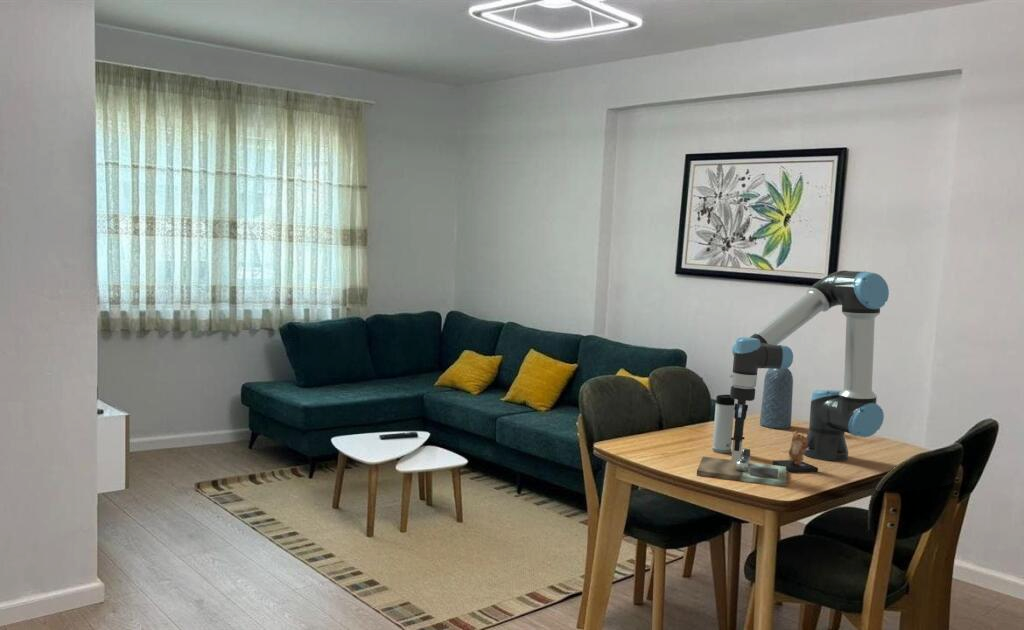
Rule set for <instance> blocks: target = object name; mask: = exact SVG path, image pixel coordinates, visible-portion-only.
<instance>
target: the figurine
mask: <svg viewBox="0 0 1024 630" xmlns="http://www.w3.org/2000/svg"><path fill="white" fill-rule="evenodd" d="M806 437H807V436H804V433H798V431H797V430H795V431H794V432H792V437H791V443H790V448H789V450H788V456H789V457H788V459H782V460H781V459H778V460H773V459H772V462H771V465H776V466H785V467H786V473H787V472H788V473H790V474H798V473H799V474H800V473H801V474H803V473H807V474H808V473H818V471H819V468H818V467H817V466H815V465H812V464H809V463H807V462H805V461H804V454H803V453H804V452H806V450H809V449H808V448H809V447H808V448H806V449H805V447H807V445H808V443H807V442H808V441H807V439H806ZM804 449H805V450H804Z"/></svg>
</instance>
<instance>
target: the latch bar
mask: <svg viewBox="0 0 1024 630" xmlns="http://www.w3.org/2000/svg"><path fill="white" fill-rule="evenodd" d="M750 460H751V449H750V448H742V449H741V458H740V460H739V461H737V463H736V470H739V471H748V466H749V463H750V462H751V461H750Z"/></svg>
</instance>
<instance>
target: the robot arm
mask: <svg viewBox="0 0 1024 630" xmlns="http://www.w3.org/2000/svg"><path fill="white" fill-rule="evenodd" d="M889 295H890V289H889V286H888V283H887V281H886V280H885V278H883V276H881V274H879V273H876V272H871V271H866V270H865V271H857V270H856V271H854V270H838V271H835V272H832V273H830V274H828V275H826V276H824V277H823V278H822V279H820V280H818V281H817V282H815V283H813V284H812V285H811V286H810V287H809V288H807V290H806V293H805V295H804V296H802V297H800V298H799V299H797V300H796V301H795V302H794V303H793V304H791V305H790V306H789V307H788V308H786V309H785V310H783V311H782V312H781V313H779V315H777V316H776V317H775V318H773V319H772V320H771V321H769V322H767V324H765V325H764V326H763V327H761V328H760V329H759V330H758V331H756V332H754V333H753V335H751V336H750V337H747V336H746V337H745V336H741V337H737V338H736V340H735V342H734V343H733V345H732V348H731V350H732V356H733V363H732V374H730V375H729V377H730V378H731V386H730V392H729V395H730V397H731V398H733V399H734V400H737V403H735V402H734V417H733V419H735V420H734V427H733V428H734V429H733V435H732V438H731V440H732V446H731V458H730V460H735V461H739V460H740V458H741V456H742V449H743V448H742V447H743V440H745V438H746V437H744V428H745V420H746V418H747V412H748V410H749V409H748V408H749V404H747V403H746V402H753V401H755V397H756V387H757V380H758V371H759V370H758V369H767V370H768V369H787V368H788V369H789V368H790V367H791V366H792V364H793V362H794V361H793V360H794V353H793V350H792V348H790V347H789V346H787V345H782V344H781V343H782V342H783V341H785V340H786V339H787V338H788V337H790V336H792V334H794V333H795V332H796V331H797V330H798V329H800V328H801V327H803V326H804V325H805V324H806V323H808V322H809V321H810V320H812V319H813V318H814V317H816V316H817V315H819V314H820V313H821V312H827V311H829V310H830V309H831V308H833V307H836V306H841V313H842V314H843V315H844V316H845V317H846V320H845V321H846V323H845V325H846V326H845V347H844V348H845V351H844V352H845V353H844V376H843V380H844V381H843V389H842V390H835V389H834V390H833V389H832V390H829V389H827V390H825V389H822V390H821V389H820V390H818V389H817V390H814V391H813V392H812V393H811V400H810V411H809V412H810V413H809V428H808V433H807V436H805V437H806V439H807V441H808V442H807V443H808V445H807V447H805V449H806V448H808V447H809V448H808V449H809V450H806V452H804V453H803V456H807V457H810V458H812V459H818V460H822V461H823V460H825V461H833V462H834V461H837V462H838V461H839V462H840V461H841V462H842V461H846V460H848V459H849V449H848V446H847V441H846V437H845V434H847V433H848V434H850V435H853V436H854V437H855V436H856V437H861V438H868V437H871V436H873V435H875V434H876V433H877V431H880V429H881V428H882V425H883V422H884V418H885V415H884V411H883V409H882V407H881V406H880V405H879V404H877V398H878V397H877V394H876V393H875V392H874V391H873V372H874V371H873V369H874V348H875V347H874V343H875V338H874V337H875V320H876V318H877V317H878V316H879V315H880V314H881V308H882V307H884V306H885V305H886V303H887V302H888V300H889V297H890V296H889ZM805 449H804V450H805Z"/></svg>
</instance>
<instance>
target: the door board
mask: <svg viewBox="0 0 1024 630" xmlns="http://www.w3.org/2000/svg"><path fill="white" fill-rule="evenodd" d="M736 463H737V461H735V460H731V459H727V458H719V457H718V458H717V457H709V456H702V458H701V460H700V463H699V465H698V467H697V469H696V476H698V477H707V478H715V479H723V480H729V481H738V482H739V481H740V482H745V483H754V484H760V485H768V486H775V487H777V486H778V487H782V488H786V487H787V471H786V467H785V466H776V465H772V464H767V463H760V462H751V461H750V463H749V466H748V471H739V470H736Z"/></svg>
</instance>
